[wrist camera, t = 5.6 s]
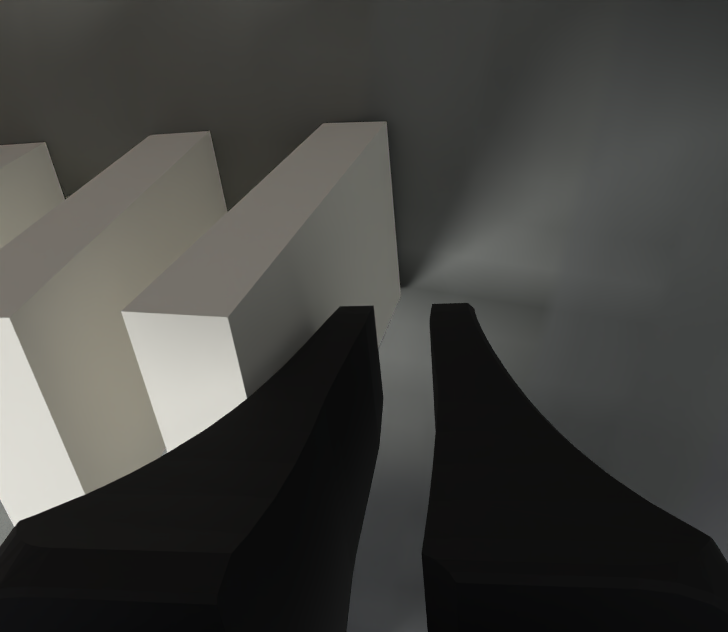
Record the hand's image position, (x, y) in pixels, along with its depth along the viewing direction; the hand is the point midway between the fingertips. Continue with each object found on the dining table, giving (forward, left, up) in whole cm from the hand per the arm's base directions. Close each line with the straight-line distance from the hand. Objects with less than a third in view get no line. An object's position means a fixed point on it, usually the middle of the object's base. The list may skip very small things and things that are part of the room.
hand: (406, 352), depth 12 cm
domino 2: (+5, +4, -6) cm, 9 cm away
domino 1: (+1, +1, -6) cm, 6 cm away
